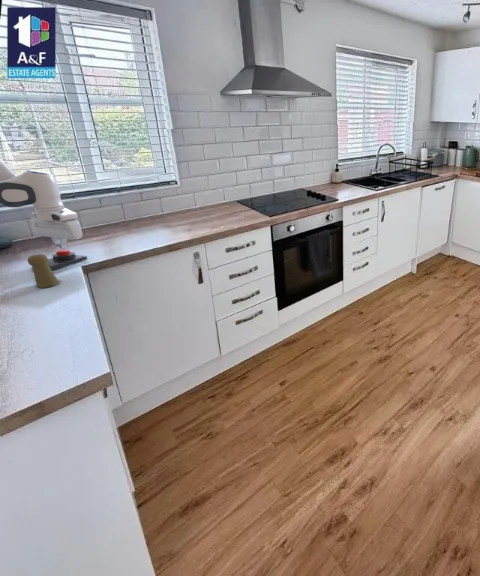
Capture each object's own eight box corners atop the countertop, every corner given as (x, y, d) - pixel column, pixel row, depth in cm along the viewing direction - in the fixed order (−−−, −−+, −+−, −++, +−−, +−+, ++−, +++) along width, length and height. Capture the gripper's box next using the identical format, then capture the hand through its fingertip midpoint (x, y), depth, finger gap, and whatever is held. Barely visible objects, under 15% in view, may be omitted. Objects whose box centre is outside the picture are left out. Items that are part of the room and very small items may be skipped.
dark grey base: (54, 274, 142) (50, 261, 140) (33, 271, 144) (29, 259, 142) (88, 263, 155) (85, 251, 153) (68, 260, 156) (65, 249, 155)
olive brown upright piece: (46, 288, 129) (34, 259, 124) (32, 287, 130) (19, 257, 125) (63, 281, 134) (51, 253, 130) (49, 280, 135) (37, 252, 131)
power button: (62, 256, 147) (61, 252, 146) (54, 256, 148) (53, 251, 147) (72, 254, 151) (71, 250, 150) (64, 253, 151) (63, 249, 151)
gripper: (21, 213, 142) (32, 247, 147) (64, 217, 138) (75, 252, 144) (38, 210, 148) (48, 243, 153) (80, 214, 144) (90, 248, 149)
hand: (61, 248), depth 148 cm, fingers closed
